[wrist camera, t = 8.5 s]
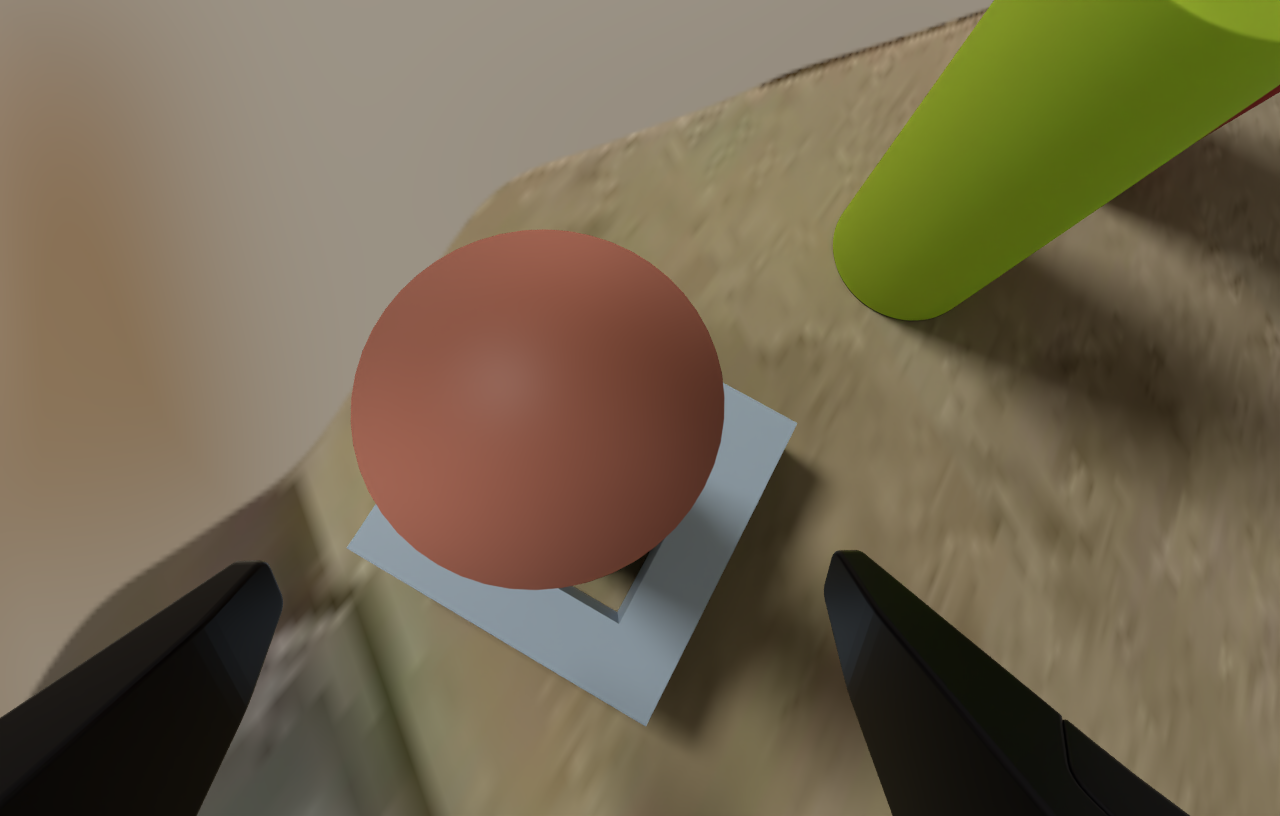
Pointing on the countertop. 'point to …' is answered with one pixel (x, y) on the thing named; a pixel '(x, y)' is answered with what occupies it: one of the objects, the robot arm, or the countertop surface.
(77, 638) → the countertop surface
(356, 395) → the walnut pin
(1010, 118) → the soap dispenser
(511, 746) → the countertop surface
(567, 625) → the hole block
